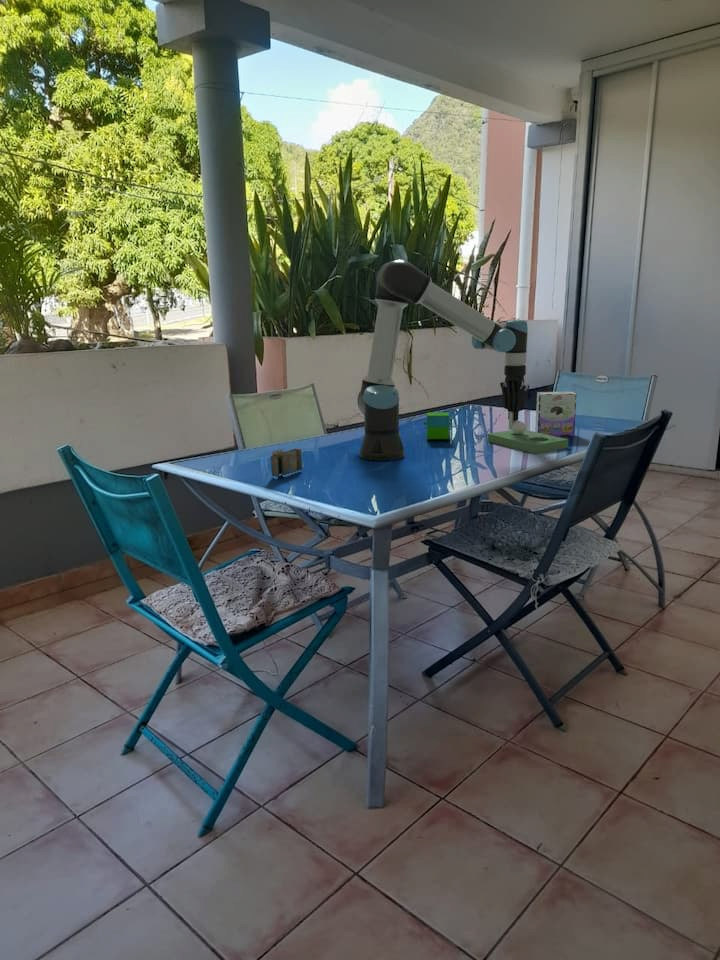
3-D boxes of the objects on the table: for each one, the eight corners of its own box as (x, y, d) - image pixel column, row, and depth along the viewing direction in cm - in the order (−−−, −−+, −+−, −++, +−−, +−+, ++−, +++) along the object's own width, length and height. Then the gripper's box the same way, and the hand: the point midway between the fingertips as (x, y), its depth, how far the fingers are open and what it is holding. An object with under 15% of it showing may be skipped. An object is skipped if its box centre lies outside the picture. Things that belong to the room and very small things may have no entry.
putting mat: (534, 453, 226) (534, 445, 225) (487, 441, 246) (487, 433, 245) (567, 447, 234) (568, 439, 233) (519, 436, 254) (520, 428, 253)
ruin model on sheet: (279, 481, 201) (277, 450, 199) (272, 480, 203) (270, 449, 200) (303, 473, 210) (302, 443, 208) (296, 471, 212) (294, 442, 209)
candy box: (571, 433, 257) (573, 391, 252) (574, 436, 251) (577, 393, 247) (534, 433, 258) (536, 391, 254) (537, 436, 252) (539, 393, 248)
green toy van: (450, 434, 260) (450, 409, 258) (451, 442, 248) (452, 415, 245) (424, 434, 261) (424, 409, 259) (424, 442, 248) (424, 415, 246)
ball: (510, 436, 243) (519, 433, 239) (507, 422, 243) (517, 420, 239) (520, 434, 246) (530, 432, 241) (517, 421, 246) (527, 419, 241)
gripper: (536, 365, 235) (533, 430, 242) (510, 362, 246) (508, 425, 252) (520, 366, 232) (517, 433, 238) (495, 363, 242) (493, 427, 249)
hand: (512, 428), depth 245 cm, fingers closed
